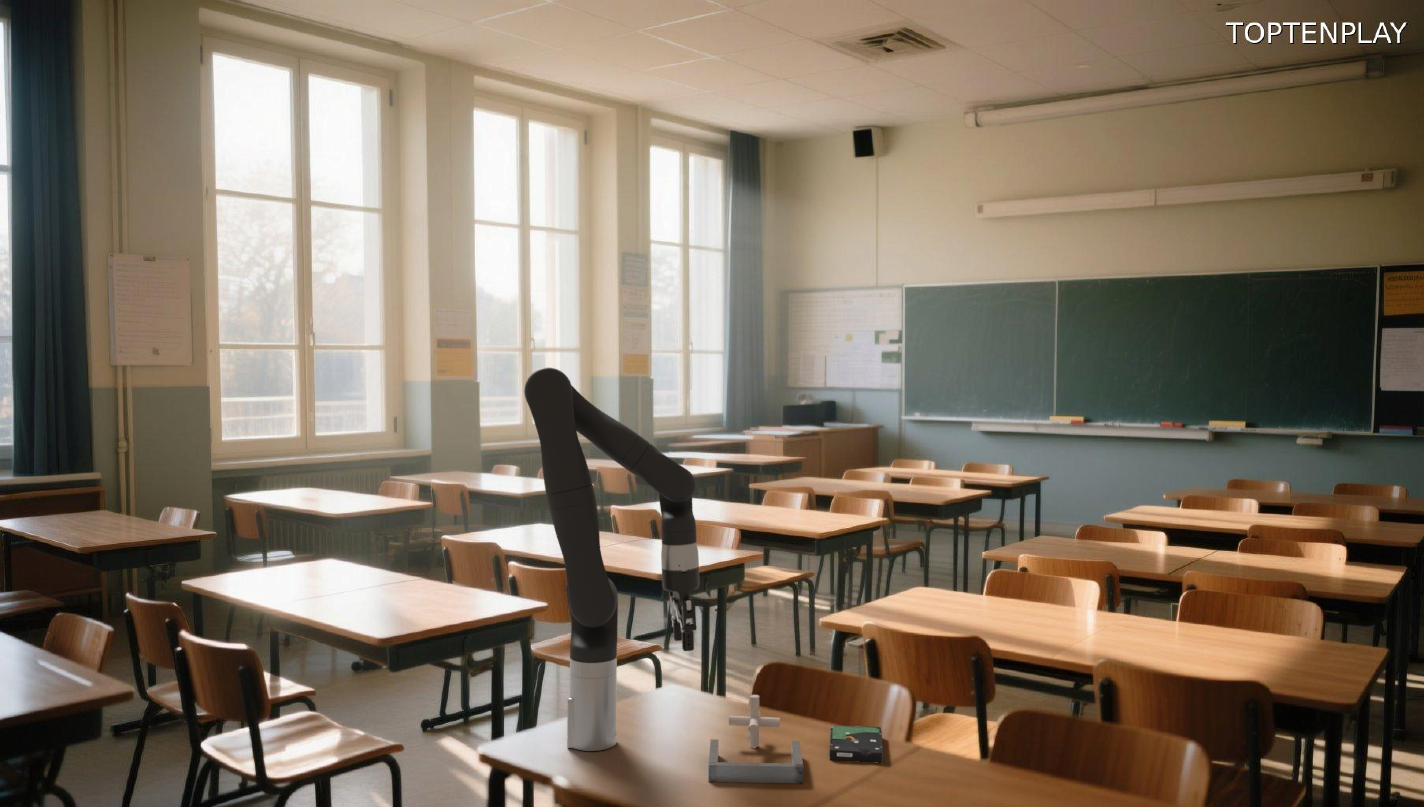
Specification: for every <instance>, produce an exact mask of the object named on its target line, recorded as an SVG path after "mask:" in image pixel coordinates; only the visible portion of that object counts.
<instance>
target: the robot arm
mask: <svg viewBox="0 0 1424 807" xmlns="http://www.w3.org/2000/svg"><path fill="white" fill-rule="evenodd" d="M523 392H524V397H525V400H526V403H527V405H528V407H529V411H530V413H531V416H532V419H533V422H534V426H535V430H536V432H537V435H538V439H539V445H540V453H541V466H542V477H543V483H544V488H545V489H544V490H545V494H546V499H547V504H548V508H549V513H550V517H551V520H552V525H553V527H554V532H555V535H556V539H557V541H558V542H557V543H558V544H559V548H560V551H561V554H562V558H563V562H564V567H565V576H566V584H567V593H568V606H569V610H570V612H571V624H570V625H571V631H570V640H569V641H570V642H569V697H568V699H567V710H566V711H567V714H566V715H567V721H566V722H567V723H566V724H567V726H566V728H567V729H566V730H567V731H566V734H567V735H566V736H567V738H566V740H567V741H566V745H567V748H568V749H575V750H577V751H584V752H595V751H602V750H603V751H604V750H608V749H610V748H613V747H614V746H616V744H617V692H618V690H617V681H618V679H617V678H618V677H617V675H618V674H617V672H618V670H617V668H618V667H617V666H618V665H617V664H618V659H617V658H618V656H617V654H618V653H617V652H618V626H619V624H618V623H619V622H618V620H619V619H618V616H619V598H618V590H617V587H616V585H615V583H614V581H613V580H611V579H610V578H609V576H608V574H607V571H606V568H605V567H606V566H605V563H604V560H603V556H602V551H601V543H600V542H601V541H600V539H601V538H600V524H599V523H600V522H599V511H598V505H597V499H596V495H595V489H594V486H593V480H592V476H591V472H590V469H589V466H588V464H587V460H586V457H585V454H584V452H583V448H582V446H581V443H580V440H579V436H578V434H579V435H582V436H583V437H584V438H585V439H587V440H588V441H589V442H590V443H592V444H593V445H594V446H596V448H598V449H599V450H601V452H603V453H604V455H607V457H609V458H610V459H612V461H614V462H616V463H617V465H618V464H619V465H620V466H621V467H623V469H625V470H627V471H629V473H631V474H632V475H634V476H636V477H637V478H640V479H642V480H643V481H644V482H645V483H646V484H647V485H649V486H650V487H651V488H653V489H654V490H655V491H657V492H658V498H659V507H660V508H659V509H660V514H661V516H660V517H661V525H660V529H661V532H660V533H661V552H660V553H661V554H660V556H661V557H660V558H661V559H660V560H661V562H660V563H661V580H662V581H661V583H662V584H661V585H662V589H663V590H664V591H667V592H668V593H669V597H668V598H669V616H670V617H671V622H672V628H673V630H672V631H673V640H674V641H676V642H678V641H681V649H682V651H683V652H690V651H694V649H695V644H694V643H695V642H694V632H695V631H697V619H696V616H697V615H696V600H695V599H694V598H693V597H691V591H694V590H697V589H699V588H700V585H701V584H700V562H699V558H700V557H699V550H698V549H699V548H698V544H697V543H698V542H697V525H696V518H695V514H694V512H693V495H694V494H695V491H696V485H697V483H696V479H695V476H694V475H693V474H692V472H691V471H689V470H688V469H687V468H686V467H684V466H683V465H681V464H679V463H677V462H676V461H674V460H673V459H671V458H669V456H667V455H665V454H663V453H662V452H661V451H660V450H659V449H658V448H657V447H656V446H654V445H653V444H652V443H651V442H649V441H648V440H646V439H645V438H644V437H643V436H641V435H639V434H638V433H637V432H636V431H634V430H633V429H632V428H630V427H628V426H626V425H625V424H623V423H621V422H620V421H618V420H617V419H615V418H614V417H611V416H610V415H608V414H607V413H605V412H603V410H601V409H600V408H598V407H597V406H595V405H594V404H592V403H591V402H590V401H589V400H587V399H586V398H585V397H584V396H583V395H582V393H580V392H579V391H578V389H576V388H575V387H574V386H573V385H572V383H571V380H570V379H569V377H568V376H567V375H566V374H565V373H564V372H563V371H561V370H560V369H558V368H555V367H549V366H548V367H542V368H539V369H537V370H535V371H533V372H532V373H531V374H530V376H529V377H528V378H527V380H526V382H525V385H524V391H523ZM687 622H689V624H687Z"/></svg>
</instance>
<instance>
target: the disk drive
mask: <svg viewBox="0 0 1424 807" xmlns="http://www.w3.org/2000/svg"><path fill="white" fill-rule="evenodd" d="M829 736H830V737H829V738H830V739H829V749H828V750H829V751H828V752H829V757H830V758H829V761H830V762H831V760H834V762H846V761H859V762H858V763H862V762H878V763H877V764H880V763H883V764H884V746H883V731H882V727H880V726H866V725H865V726H862V725H855V726H852V725H851V726H849V725H847V726H846V725H837V724H833V726H831V728H830V735H829Z"/></svg>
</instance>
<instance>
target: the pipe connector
mask: <svg viewBox="0 0 1424 807" xmlns="http://www.w3.org/2000/svg"><path fill="white" fill-rule="evenodd" d="M749 701H750V702H749V716H747V715H745V716H741V715H739V716H738V715H728V725H729V726H736V727H737V726H738V727H748V732H749V747H750V746H751V747H758V746H759V747H760V728H761V727H763V728H764V727H766V728H781V717H772V716H771V717H770V716H767V717H766V716H761V714H762V713H761V710H760V695H759V694H751V695H750V696H749ZM759 747H758V748H759Z"/></svg>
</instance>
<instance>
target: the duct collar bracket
mask: <svg viewBox="0 0 1424 807" xmlns="http://www.w3.org/2000/svg"><path fill="white" fill-rule="evenodd" d="M709 742H710V744H709V758H708V781H707V782H708V783H747V784H748V783H752V784H753V783H757V784H758V783H759V784H761V783H762V784H763V783H764V784H800V783H802V784H804V779H805V778H804V774H805V772H804V770H805V768H804V762H803V755H802V750H801V745H800V741H799V740H791V742H790V746H791V749H790V759H791V758H792V759H791V763H786V762H784V763H781V762H779V763H778V762H775V763H773V762H733V761H732V762H725V761H723V762H722V761H721V762H719V739H710V741H709Z"/></svg>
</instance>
